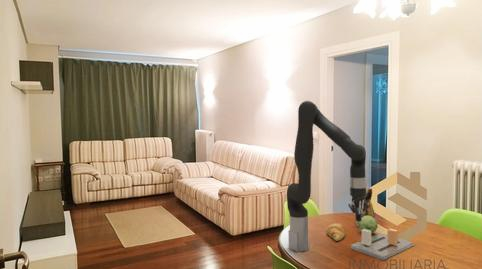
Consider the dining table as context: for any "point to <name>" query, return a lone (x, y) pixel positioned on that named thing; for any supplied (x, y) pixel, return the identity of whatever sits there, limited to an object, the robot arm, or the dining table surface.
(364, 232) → the cream fader
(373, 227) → the decorative ball
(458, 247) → the dining table surface
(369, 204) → the plush toy
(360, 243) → the fader panel
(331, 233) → the croissant
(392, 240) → the orange fader
